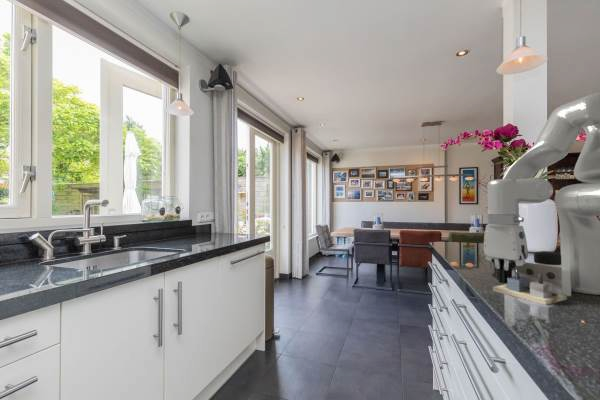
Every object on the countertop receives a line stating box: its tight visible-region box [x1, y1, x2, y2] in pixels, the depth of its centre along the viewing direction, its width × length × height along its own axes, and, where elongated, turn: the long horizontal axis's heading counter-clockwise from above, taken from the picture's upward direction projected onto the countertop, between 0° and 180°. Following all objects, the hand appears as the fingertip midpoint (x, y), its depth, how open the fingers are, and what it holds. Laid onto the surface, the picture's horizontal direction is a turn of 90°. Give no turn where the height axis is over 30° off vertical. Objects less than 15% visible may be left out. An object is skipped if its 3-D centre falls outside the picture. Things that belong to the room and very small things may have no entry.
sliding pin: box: [507, 269, 528, 292], centre depth 79 cm, size 4×3×6 cm
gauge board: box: [492, 261, 568, 306], centre depth 79 cm, size 10×13×8 cm
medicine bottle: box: [533, 250, 572, 297], centre depth 82 cm, size 7×7×12 cm
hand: (505, 282), depth 82 cm, fingers closed
